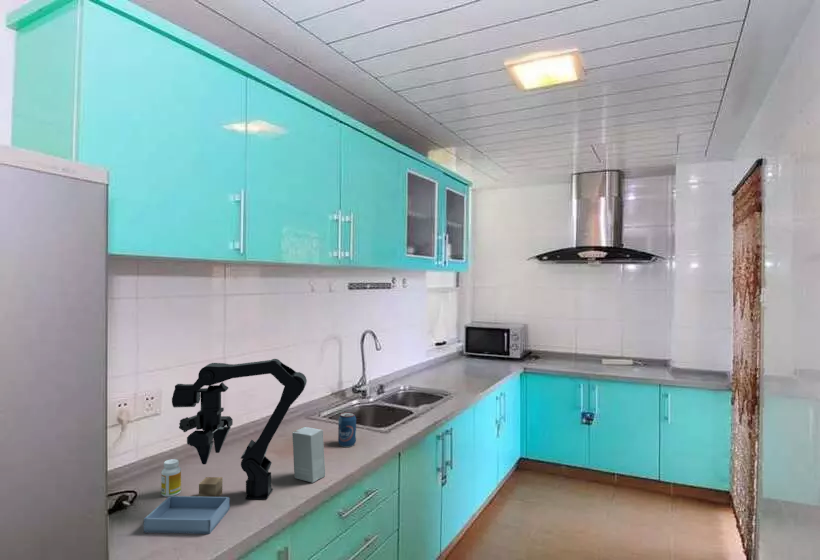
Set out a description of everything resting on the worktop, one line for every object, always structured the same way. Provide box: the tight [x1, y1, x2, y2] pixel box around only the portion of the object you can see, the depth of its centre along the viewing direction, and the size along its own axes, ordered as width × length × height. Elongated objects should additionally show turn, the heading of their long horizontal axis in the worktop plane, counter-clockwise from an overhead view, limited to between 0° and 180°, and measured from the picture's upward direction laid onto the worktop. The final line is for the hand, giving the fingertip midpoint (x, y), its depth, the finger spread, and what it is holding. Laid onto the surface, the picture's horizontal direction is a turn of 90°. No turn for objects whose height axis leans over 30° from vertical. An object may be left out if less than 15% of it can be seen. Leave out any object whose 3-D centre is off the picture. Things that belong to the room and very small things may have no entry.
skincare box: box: [292, 426, 326, 484], centre depth 161 cm, size 8×7×16 cm
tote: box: [143, 495, 231, 535], centre depth 133 cm, size 17×13×4 cm
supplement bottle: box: [160, 458, 182, 498], centre depth 149 cm, size 5×5×10 cm
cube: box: [198, 476, 224, 497], centre depth 147 cm, size 5×5×5 cm
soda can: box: [337, 411, 357, 448], centre depth 193 cm, size 7×7×12 cm
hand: (211, 458), depth 147 cm, fingers open, 9 cm apart
